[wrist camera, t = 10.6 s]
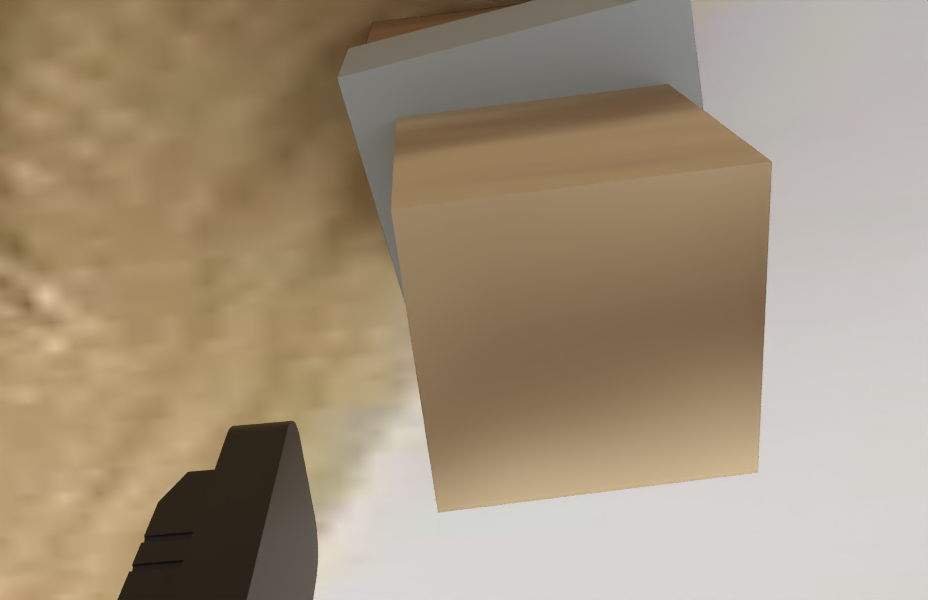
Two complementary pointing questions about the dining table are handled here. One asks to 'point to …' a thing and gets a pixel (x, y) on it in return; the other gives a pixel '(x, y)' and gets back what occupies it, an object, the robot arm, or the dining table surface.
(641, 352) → the oak cube
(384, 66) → the tower top
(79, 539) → the dining table surface
